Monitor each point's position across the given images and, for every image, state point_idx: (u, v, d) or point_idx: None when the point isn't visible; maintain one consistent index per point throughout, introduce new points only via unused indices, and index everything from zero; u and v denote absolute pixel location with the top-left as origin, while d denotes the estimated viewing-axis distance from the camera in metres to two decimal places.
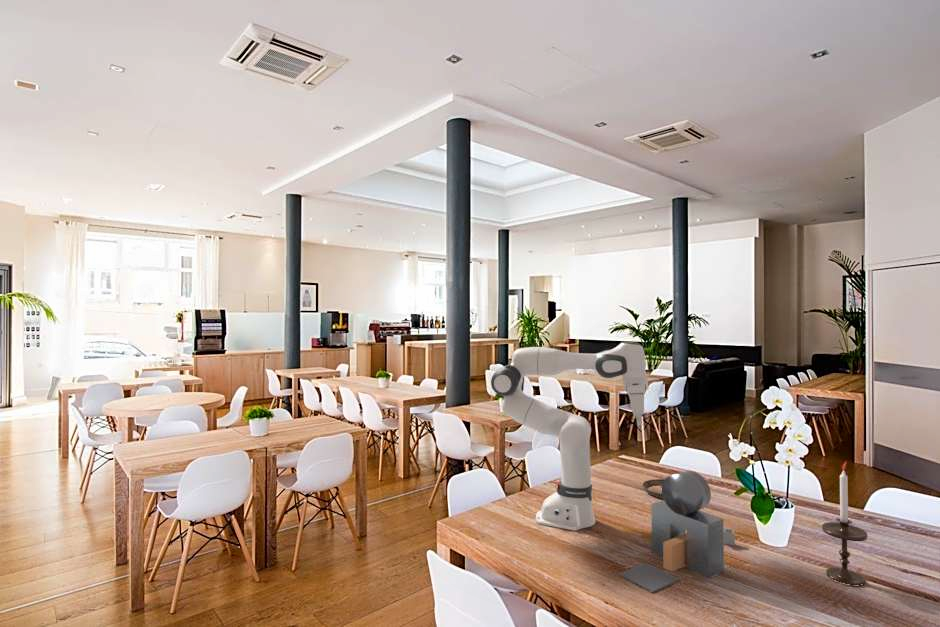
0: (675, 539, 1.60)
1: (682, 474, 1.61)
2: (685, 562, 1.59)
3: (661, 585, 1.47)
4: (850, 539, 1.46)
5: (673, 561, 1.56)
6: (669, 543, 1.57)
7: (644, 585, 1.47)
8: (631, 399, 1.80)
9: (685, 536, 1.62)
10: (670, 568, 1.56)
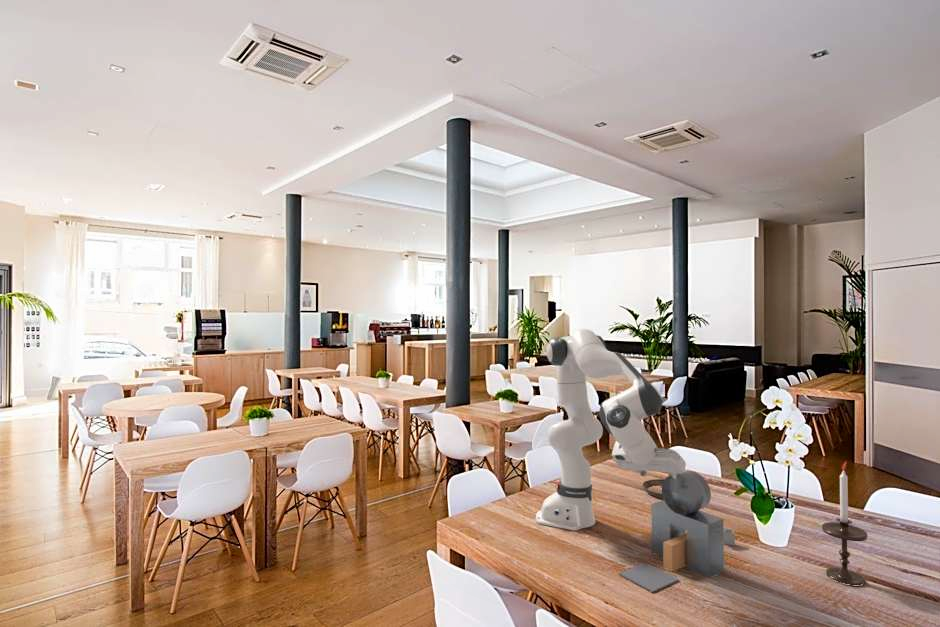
0: (675, 539, 1.60)
1: (682, 474, 1.61)
2: (685, 562, 1.59)
3: (661, 585, 1.47)
4: (850, 539, 1.46)
5: (673, 561, 1.56)
6: (669, 543, 1.57)
7: (644, 585, 1.47)
8: None
9: (685, 536, 1.62)
10: (670, 568, 1.56)
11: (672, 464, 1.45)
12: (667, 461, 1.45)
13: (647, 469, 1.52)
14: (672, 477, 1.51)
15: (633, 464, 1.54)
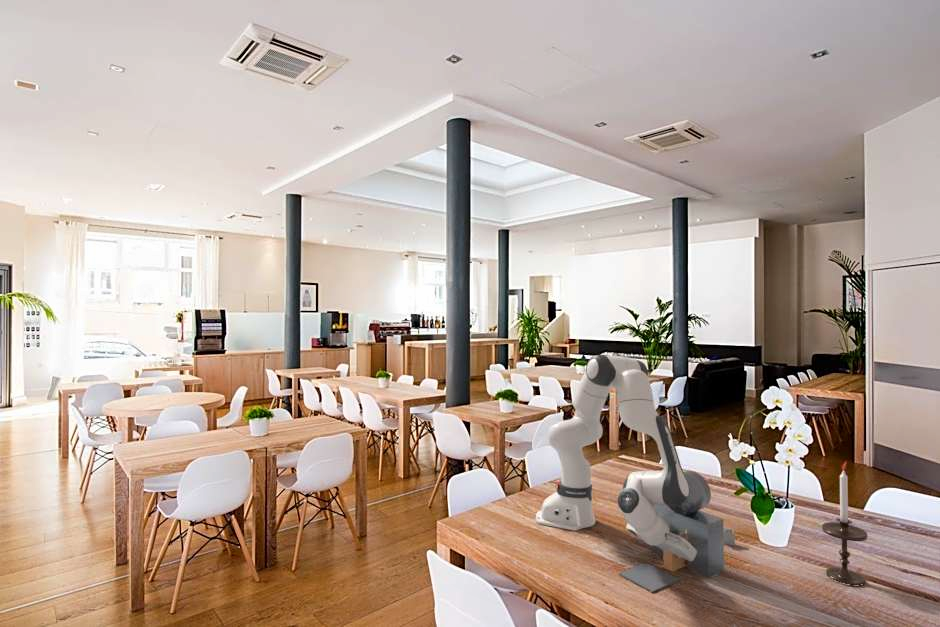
0: None
1: None
2: (685, 562, 1.59)
3: (661, 585, 1.47)
4: (850, 539, 1.46)
5: (673, 561, 1.56)
6: None
7: (644, 585, 1.47)
8: None
9: (685, 536, 1.62)
10: (670, 568, 1.56)
11: (680, 552, 1.47)
12: (676, 548, 1.47)
13: (660, 547, 1.56)
14: (677, 556, 1.56)
15: None
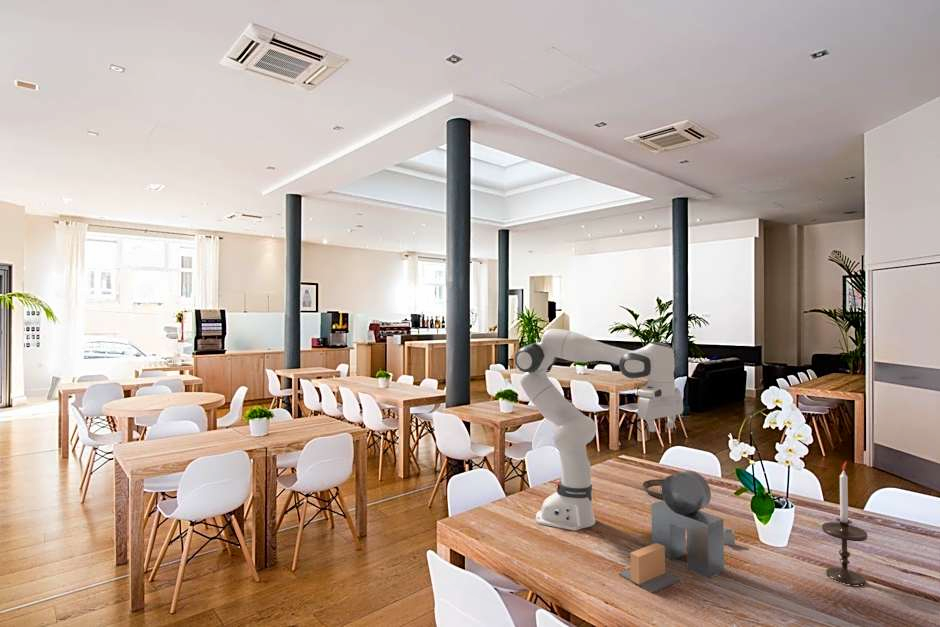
0: (643, 549, 1.52)
1: (682, 474, 1.61)
2: (654, 574, 1.51)
3: (661, 585, 1.47)
4: (850, 539, 1.46)
5: (640, 573, 1.48)
6: (636, 554, 1.49)
7: (644, 585, 1.47)
8: (638, 401, 1.71)
9: (654, 546, 1.54)
10: (637, 580, 1.48)
11: (680, 401, 1.78)
12: (678, 397, 1.77)
13: (664, 413, 1.73)
14: (672, 425, 1.77)
15: (657, 408, 1.71)
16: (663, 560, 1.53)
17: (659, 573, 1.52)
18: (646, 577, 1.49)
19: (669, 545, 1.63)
